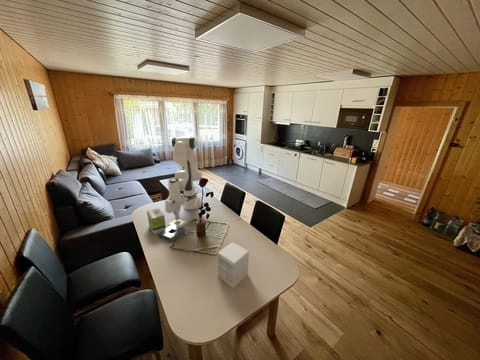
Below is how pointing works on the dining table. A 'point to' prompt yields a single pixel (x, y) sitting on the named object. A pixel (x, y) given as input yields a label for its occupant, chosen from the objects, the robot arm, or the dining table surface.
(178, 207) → the plug peg
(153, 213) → the tea box
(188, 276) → the dining table surface
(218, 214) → the dining table surface
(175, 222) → the holster
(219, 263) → the supplement box
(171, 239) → the port block
